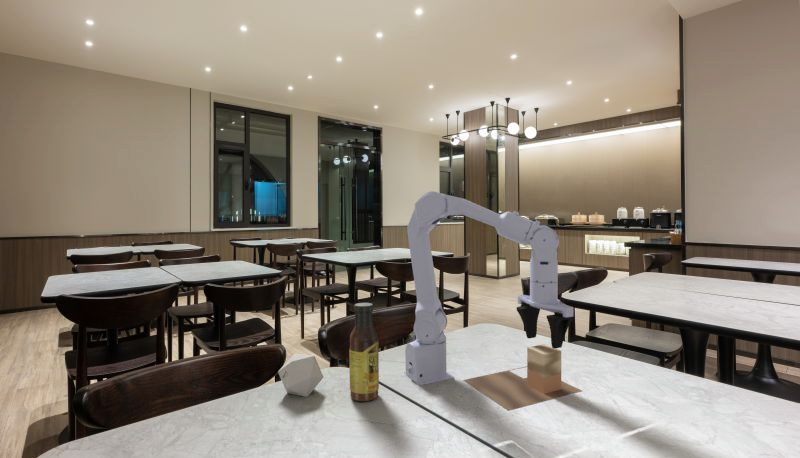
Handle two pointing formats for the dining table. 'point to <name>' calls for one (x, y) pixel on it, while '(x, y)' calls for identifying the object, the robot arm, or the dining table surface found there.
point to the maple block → (544, 360)
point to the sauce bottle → (364, 355)
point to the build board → (515, 389)
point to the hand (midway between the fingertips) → (543, 342)
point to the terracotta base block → (544, 382)
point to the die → (300, 374)
